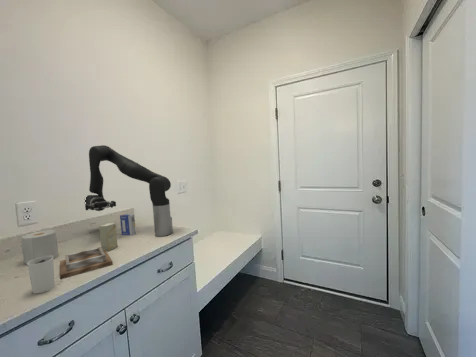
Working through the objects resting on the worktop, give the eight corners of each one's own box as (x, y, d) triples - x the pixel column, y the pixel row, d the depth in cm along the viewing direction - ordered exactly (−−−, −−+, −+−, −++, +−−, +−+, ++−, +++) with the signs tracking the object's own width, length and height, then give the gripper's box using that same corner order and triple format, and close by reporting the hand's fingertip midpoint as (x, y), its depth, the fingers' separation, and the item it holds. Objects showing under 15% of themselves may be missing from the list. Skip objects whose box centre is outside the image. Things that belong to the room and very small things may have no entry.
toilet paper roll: (44, 253, 112) (42, 230, 111) (65, 254, 110) (62, 230, 109) (16, 264, 100) (13, 238, 100) (38, 265, 98) (35, 238, 97)
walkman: (121, 235, 136) (119, 215, 136) (125, 233, 139) (123, 213, 138) (132, 235, 134) (130, 215, 133) (136, 233, 137) (134, 214, 136)
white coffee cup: (29, 289, 78) (26, 260, 77) (54, 281, 83) (51, 254, 82) (32, 296, 73) (28, 266, 72) (58, 287, 78) (55, 258, 77)
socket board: (105, 253, 108) (105, 244, 108) (112, 264, 95) (111, 255, 94) (60, 264, 98) (59, 255, 97) (60, 279, 84) (59, 268, 84)
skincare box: (108, 251, 110) (106, 226, 109) (100, 251, 111) (98, 226, 110) (118, 246, 116) (116, 222, 116) (110, 246, 117) (108, 222, 117)
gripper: (82, 198, 128) (85, 201, 116) (111, 195, 137) (117, 198, 124) (84, 212, 129) (87, 216, 116) (112, 208, 138) (118, 211, 125)
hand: (102, 206), depth 120 cm, fingers open, 8 cm apart
